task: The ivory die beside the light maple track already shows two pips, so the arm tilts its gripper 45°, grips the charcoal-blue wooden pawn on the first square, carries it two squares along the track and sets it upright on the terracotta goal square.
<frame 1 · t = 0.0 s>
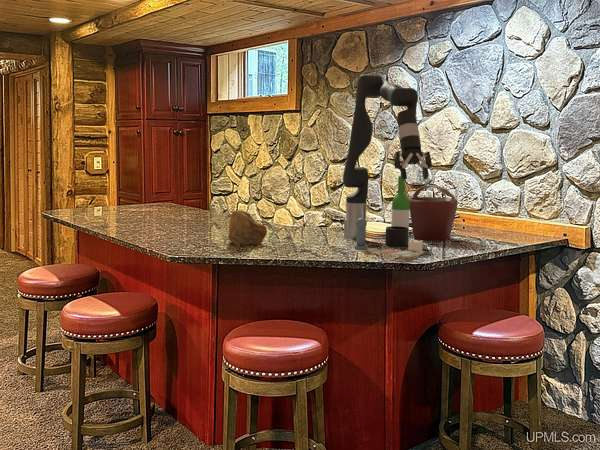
hand: (415, 179, 242), 31 cm above the worktop, tool tilted 20°, fingers open, 8 cm apart
pawn: (360, 248, 267), point 1 cm above the worktop, touching board
mug: (396, 248, 279), on the worktop
rough brown rock: (247, 244, 286), on the worktop
die: (415, 253, 268), on the worktop
wine bottle: (399, 244, 291), on the worktop
board: (382, 255, 262), on the worktop
bucket: (429, 239, 307), on the worktop
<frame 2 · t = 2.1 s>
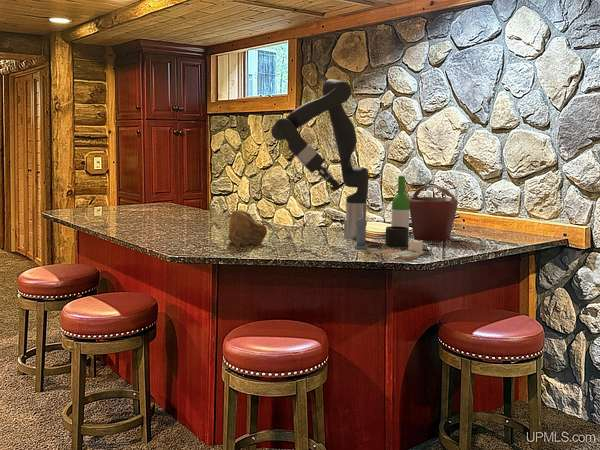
hand: (338, 187, 264), 26 cm above the worktop, tool tilted 45°, fingers open, 8 cm apart
nothing on the worktop moved.
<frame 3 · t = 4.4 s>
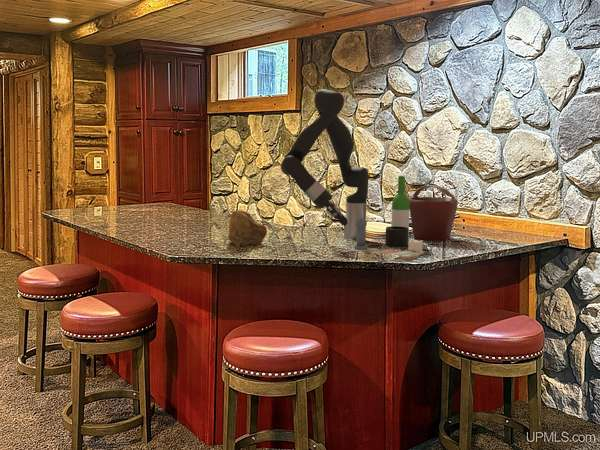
hand: (346, 223, 266), 12 cm above the worktop, tool tilted 45°, fingers open, 8 cm apart
nothing on the worktop moved.
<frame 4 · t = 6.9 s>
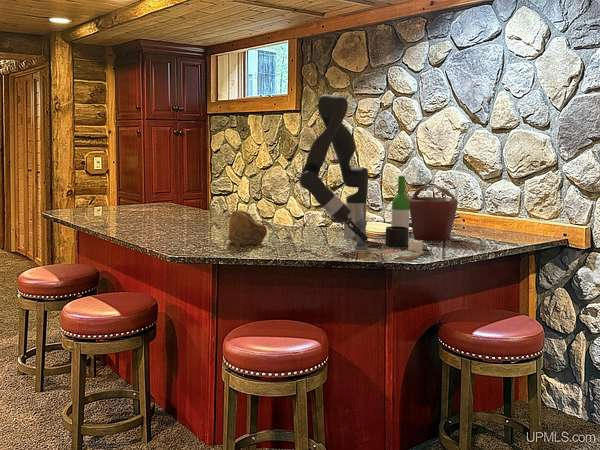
hand: (365, 239, 267), 6 cm above the worktop, tool tilted 45°, fingers closed on pawn, 3 cm apart
pawn: (360, 248, 267), point 2 cm above the worktop, touching board, gripper
everything else where it was.
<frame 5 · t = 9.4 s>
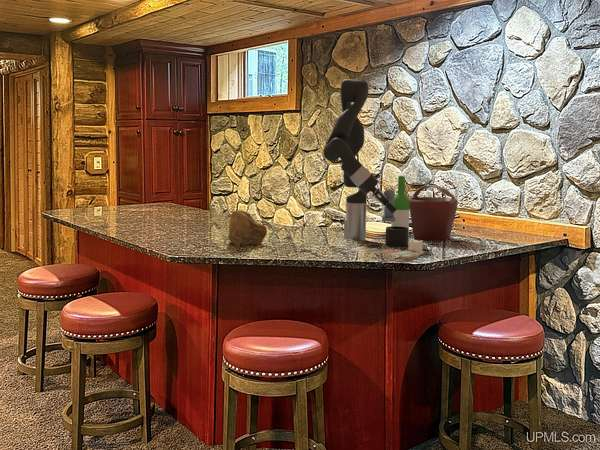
hand: (394, 210, 258), 18 cm above the worktop, tool tilted 45°, fingers closed on pawn, 3 cm apart
pawn: (388, 220, 259), point 14 cm above the worktop, touching gripper
everything else where it was.
when the fingers open (6 cm above the worktop, at t = 12.0 s): pawn stays where it is, resting on board.
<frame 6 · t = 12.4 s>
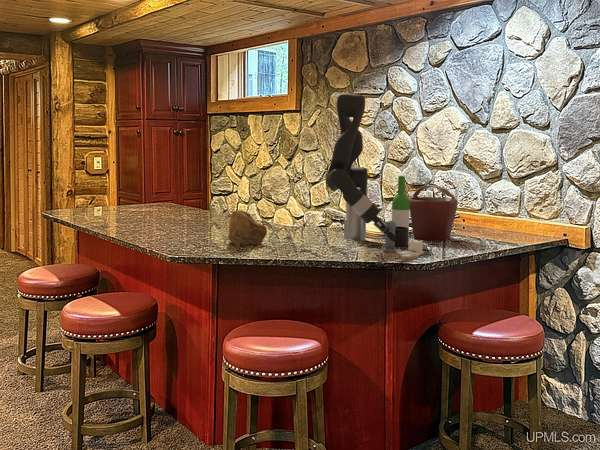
hand: (394, 238, 260), 7 cm above the worktop, tool tilted 45°, fingers open, 7 cm apart
pawn: (389, 252, 260), point 1 cm above the worktop, touching board
everything else where it was.
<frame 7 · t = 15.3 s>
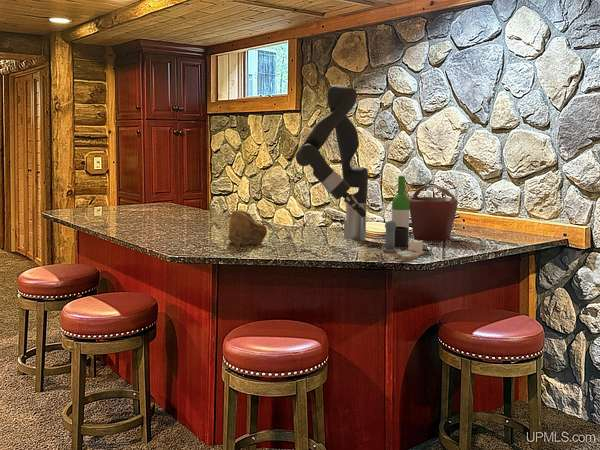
hand: (364, 214, 259), 16 cm above the worktop, tool tilted 45°, fingers open, 8 cm apart
nothing on the worktop moved.
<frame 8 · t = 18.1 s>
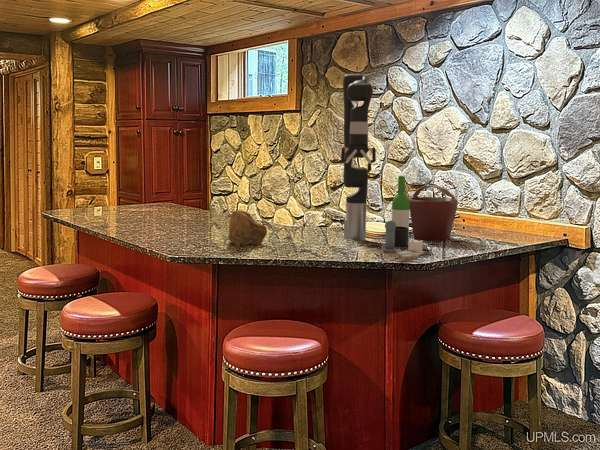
hand: (357, 172, 271), 32 cm above the worktop, tool pointing down, fingers open, 8 cm apart
nothing on the worktop moved.
at the end: pawn 0.1 cm from the target spot on the board, point 1.5 cm above the board's base; pawn tilted 0°; the gripper is holding nothing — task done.
